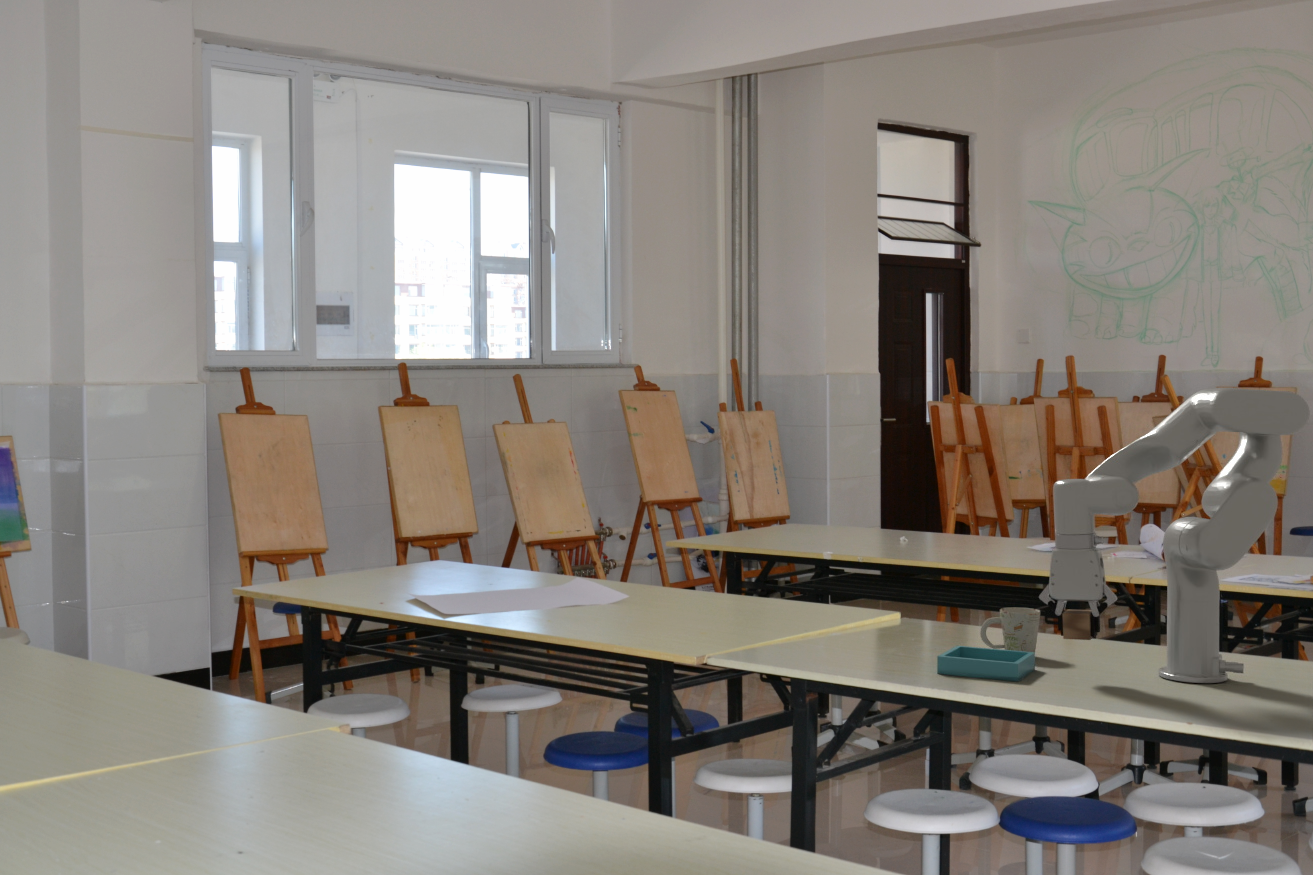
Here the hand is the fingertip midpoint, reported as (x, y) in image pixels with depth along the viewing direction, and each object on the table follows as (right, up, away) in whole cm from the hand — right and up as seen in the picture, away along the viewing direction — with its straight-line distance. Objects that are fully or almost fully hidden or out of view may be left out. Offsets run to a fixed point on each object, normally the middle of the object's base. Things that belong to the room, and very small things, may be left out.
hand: (1079, 634), depth 250 cm
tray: (-16, -9, +8) cm, 20 cm away
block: (0, -1, 0) cm, 1 cm away
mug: (-7, -9, +25) cm, 27 cm away
